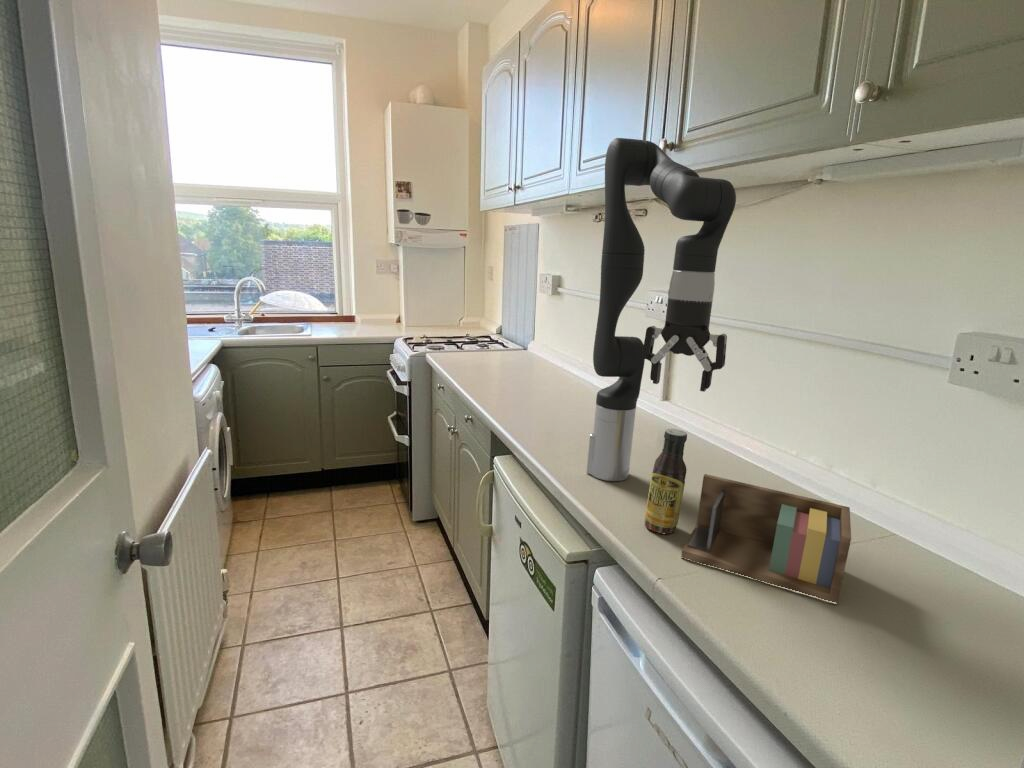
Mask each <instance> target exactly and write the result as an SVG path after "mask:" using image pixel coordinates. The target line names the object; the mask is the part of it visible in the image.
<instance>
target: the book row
mask: <svg viewBox="0 0 1024 768" xmlns="http://www.w3.org/2000/svg"><path fill="white" fill-rule="evenodd" d="M796 510H797V507H792V506H788V505H784V504H782V506H781V510H780V514H779V518H778V522H777V527H776V533H775V539H774V544H773V550H772V555H771V561H770V566H769V571H773V572H776V573H780V574H783V575H786V576H790V577H793V578H797V579H800V580H804V581H807V582H810V583H814V584H817V585H821V586H824V587H827V588H830V586H831V581H832V577H833V572H834V567H835V562H836V557H837V553H838V548H839V543H840V519H835V518H831V517H827V512H825V511H821V510H817V509H812V508H810V512H809V514H805V513H801V512H797V511H796Z"/></svg>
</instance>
